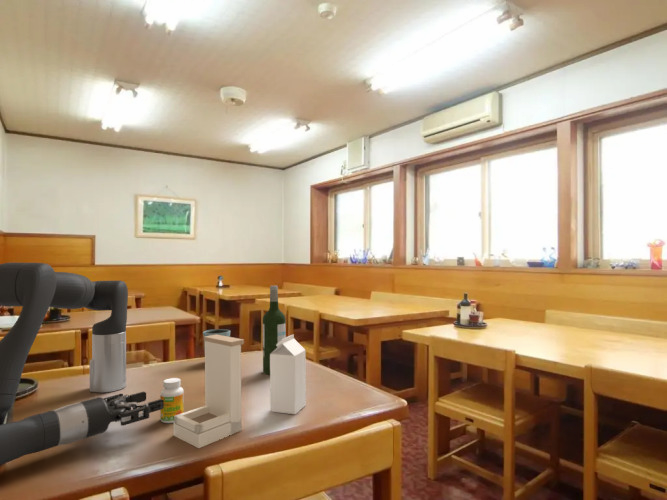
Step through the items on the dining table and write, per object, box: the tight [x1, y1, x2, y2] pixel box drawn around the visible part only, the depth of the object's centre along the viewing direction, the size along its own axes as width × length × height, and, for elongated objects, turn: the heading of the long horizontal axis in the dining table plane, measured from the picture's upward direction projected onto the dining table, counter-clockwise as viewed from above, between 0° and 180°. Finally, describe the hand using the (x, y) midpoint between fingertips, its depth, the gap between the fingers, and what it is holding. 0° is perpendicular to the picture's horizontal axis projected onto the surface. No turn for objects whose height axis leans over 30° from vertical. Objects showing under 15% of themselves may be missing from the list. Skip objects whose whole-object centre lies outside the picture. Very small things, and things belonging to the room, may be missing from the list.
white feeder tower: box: [173, 334, 245, 449], centre depth 95 cm, size 12×11×21 cm
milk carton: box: [269, 333, 307, 415], centre depth 109 cm, size 7×7×19 cm
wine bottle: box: [262, 285, 287, 376], centre depth 144 cm, size 8×8×30 cm
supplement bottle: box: [159, 377, 185, 424], centre depth 103 cm, size 5×5×10 cm
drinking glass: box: [202, 328, 231, 353], centre depth 158 cm, size 10×10×12 cm
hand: (154, 399), depth 99 cm, fingers open, 8 cm apart
